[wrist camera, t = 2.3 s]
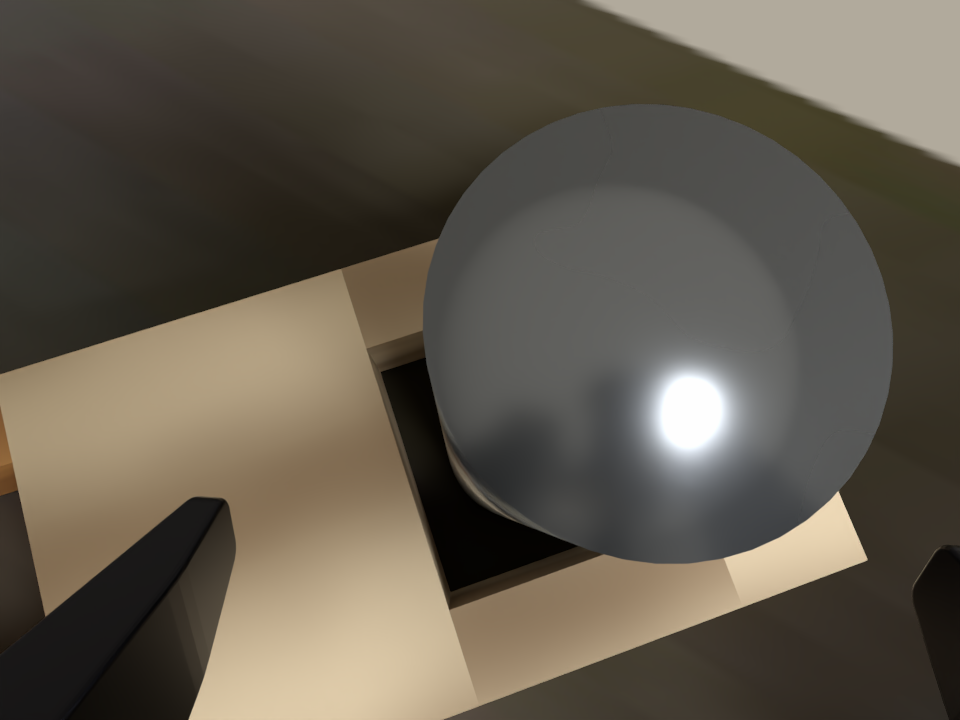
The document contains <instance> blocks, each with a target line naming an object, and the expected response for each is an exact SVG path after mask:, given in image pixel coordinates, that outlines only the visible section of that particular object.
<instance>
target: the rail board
mask: <svg viewBox="0 0 960 720" xmlns="http://www.w3.org/2000/svg"><path fill="white" fill-rule="evenodd" d="M437 242H438V239H436V240H433V241H429V242H426V243H423V244H420V245H416V246H413V247H410V248H407V249H403V250H400V251H397V252H394V253H391V254H387V255H384V256H381V257H378V258H374V259H371V260H368V261H365V262H362V263H358V264H355V265H352V266H349V267H345V268H342V269H339V270H336V271H332V272H329V273H326V274H323V275H320V276H316V277H313V278H310V279H307V280H303V281H300V282H297V283H294V284H291V285H287V286H284V287H281V288H278V289H274V290H271V291H268V292H265V293H261V294H258V295H255V296H252V297H249V298H245V299H242V300H239V301H236V302H232V303H229V304H226V305H223V306H220V307H216V308H213V309H210V310H207V311H203V312H200V313H197V314H194V315H190V316H187V317H184V318H181V319H178V320H174V321H171V322H168V323H165V324H161V325H158V326H155V327H152V328H149V329H145V330H142V331H139V332H136V333H132V334H129V335H126V336H123V337H119V338H116V339H113V340H110V341H107V342H103V343H100V344H97V345H94V346H90V347H87V348H84V349H81V350H78V351H74V352H71V353H68V354H65V355H61V356H58V357H55V358H52V359H48V360H45V361H42V362H39V363H36V364H32V365H29V366H26V367H23V368H19V369H16V370H13V371H10V372H7V373H3V374H0V496H1V495H4V494H7V493H11V492H14V491H17V490H18V491H19V496H20V500H21V505H22V510H23V514H24V519H25V523H26V528H27V533H28V537H29V542H30V547H31V551H32V556H33V561H34V565H35V570H36V575H37V579H38V584H39V589H40V593H41V598H42V603H43V607H44V612H45V616H47V615H48V614H49V613H51V612H52V611H53V610H54V609H56V608H57V607H58V606H59V605H60V604H62V603H63V602H64V601H65V600H66V599H68V598H69V597H70V596H71V595H73V594H74V593H75V592H76V591H77V590H79V589H80V588H81V587H82V586H83V585H85V584H86V583H87V582H88V581H90V580H91V579H92V578H93V577H94V576H96V575H97V574H98V573H99V572H100V571H102V570H103V569H104V568H105V567H107V566H108V565H109V564H110V563H111V562H113V561H114V560H115V559H116V558H117V557H119V556H120V555H121V554H122V553H124V552H125V551H126V550H127V549H128V548H130V547H131V546H132V545H133V544H134V543H136V542H137V541H138V540H139V539H141V538H142V537H143V536H144V535H145V534H147V533H148V532H149V531H150V530H152V529H153V528H154V527H155V526H156V525H158V524H159V523H160V522H161V521H162V520H164V519H165V518H166V517H167V516H169V515H170V514H171V513H172V512H173V511H175V510H176V509H177V508H178V507H179V506H181V505H182V504H183V503H184V502H186V501H187V500H188V499H190V498H192V497H195V496H204V497H220V498H223V499H225V500H226V501H227V502H228V504H229V507H230V513H231V518H232V523H233V529H234V534H235V539H236V556H235V561H234V565H233V569H232V573H231V577H230V581H229V585H228V588H227V592H226V596H225V600H224V604H223V608H222V612H221V616H220V619H219V623H218V627H217V631H216V635H215V639H214V643H213V647H212V650H211V654H210V658H209V662H208V665H207V669H206V672H205V676H204V679H203V682H202V685H201V688H200V690H199V693H198V696H197V699H196V701H195V704H194V707H193V709H192V712H191V715H190V717H189V720H443V719H446V718H449V717H451V716H454V715H457V714H459V713H462V712H465V711H467V710H470V709H472V708H475V707H478V706H480V705H483V704H486V703H488V702H491V701H494V700H496V699H499V698H502V697H504V696H507V695H510V694H512V693H515V692H518V691H520V690H523V689H526V688H528V687H531V686H534V685H536V684H539V683H542V682H544V681H547V680H550V679H552V678H555V677H558V676H560V675H563V674H566V673H568V672H571V671H574V670H576V669H579V668H582V667H584V666H587V665H590V664H592V663H595V662H598V661H600V660H603V659H606V658H608V657H611V656H614V655H616V654H619V653H622V652H624V651H627V650H630V649H632V648H635V647H638V646H640V645H643V644H646V643H648V642H651V641H654V640H656V639H659V638H662V637H664V636H667V635H670V634H672V633H675V632H678V631H680V630H683V629H686V628H688V627H691V626H694V625H696V624H699V623H702V622H704V621H707V620H710V619H712V618H715V617H718V616H720V615H723V614H725V613H728V612H731V611H733V610H736V609H739V608H741V607H744V606H747V605H749V604H752V603H755V602H757V601H760V600H763V599H765V598H768V597H771V596H773V595H776V594H779V593H781V592H784V591H787V590H789V589H792V588H795V587H797V586H800V585H803V584H805V583H808V582H811V581H813V580H816V579H819V578H821V577H824V576H827V575H829V574H832V573H835V572H837V571H840V570H843V569H845V568H848V567H851V566H853V565H856V564H859V563H861V562H864V561H867V557H866V555H865V553H864V550H863V548H862V546H861V543H860V541H859V539H858V536H857V534H856V532H855V529H854V527H853V525H852V522H851V520H850V518H849V515H848V513H847V511H846V508H845V506H844V504H843V501H842V499H841V497H840V494H839V492H837V493H836V494H835V495H834V496H833V498H832V499H831V500H830V501H829V502H828V503H826V504H825V505H824V506H823V507H822V508H821V509H819V510H818V511H817V512H816V513H815V514H814V515H812V516H811V517H810V518H809V519H808V520H807V521H805V522H803V523H802V524H800V525H799V526H797V527H796V528H794V529H792V530H791V531H789V532H788V533H786V534H785V535H783V536H781V537H780V538H777V539H775V540H773V541H771V542H768V543H766V544H764V545H762V546H760V547H757V548H755V549H753V550H750V551H747V552H743V553H740V554H736V555H733V556H730V557H726V558H723V559H718V560H711V561H704V562H697V563H690V564H654V563H646V562H639V561H631V560H624V559H620V558H616V557H612V556H609V555H605V554H601V553H598V552H594V551H591V550H588V549H585V548H583V547H580V546H578V547H575V548H572V549H569V550H567V551H564V552H561V553H558V554H555V555H553V556H550V557H547V558H544V559H541V560H539V561H536V562H533V563H530V564H528V565H525V566H522V567H519V568H516V569H514V570H511V571H508V572H505V573H502V574H500V575H497V576H494V577H491V578H488V579H486V580H483V581H480V582H477V583H475V584H472V585H469V586H466V587H463V588H461V589H458V590H455V591H452V592H450V589H449V585H448V582H447V579H446V576H445V573H444V570H443V567H442V563H441V560H440V557H439V554H438V551H437V548H436V545H435V542H434V538H433V535H432V532H431V529H430V526H429V523H428V520H427V516H426V513H425V510H424V507H423V504H422V501H421V498H420V494H419V491H418V488H417V485H416V482H415V479H414V476H413V472H412V469H411V466H410V463H409V460H408V457H407V454H406V450H405V447H404V444H403V441H402V438H401V435H400V432H399V429H398V425H397V422H396V419H395V416H394V413H393V410H392V407H391V403H390V400H389V397H388V394H387V391H386V388H385V385H384V381H383V378H382V375H381V372H382V371H385V370H388V369H392V368H395V367H398V366H401V365H404V364H407V363H410V362H413V361H416V360H419V359H422V358H425V357H426V355H425V347H424V339H423V301H424V294H425V288H426V281H427V274H428V270H429V267H430V264H431V260H432V257H433V253H434V250H435V247H436V244H437Z"/></svg>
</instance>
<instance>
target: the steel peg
mask: <svg viewBox="0 0 960 720" xmlns="http://www.w3.org/2000/svg"><path fill="white" fill-rule="evenodd" d="M423 339H424V347H425V355H426V363H427V368H428V372H429V376H430V380H431V385H432V389H433V393H434V398H435V402H436V406H437V410H438V415H439V419H440V423H441V428H442V432H443V436H444V441H445V445H446V449H447V453H448V458H449V461H450V465H451V468H452V471H453V473H454V476H455V478H456V479H457V481H458V483H459V485H460V486H461V487H462V489H463V490H464V491H465V493H466V494H467V495H468V496H469V497H470V498H471V499H472V500H473V501H475V502H476V503H477V504H479V505H480V506H481V507H483V508H485V509H486V510H488V511H490V512H492V513H495V514H497V515H500V516H502V517H505V518H507V519H510V520H513V521H515V522H518V523H520V524H523V525H526V526H528V527H531V528H533V529H536V530H539V531H541V532H544V533H546V534H549V535H552V536H554V537H557V538H559V539H562V540H565V541H567V542H570V543H572V544H575V545H578V546H580V547H583V548H585V549H588V550H591V551H594V552H598V553H601V554H605V555H609V556H612V557H616V558H620V559H624V560H631V561H639V562H646V563H654V564H690V563H697V562H704V561H711V560H718V559H723V558H726V557H730V556H733V555H736V554H740V553H743V552H747V551H750V550H753V549H755V548H757V547H760V546H762V545H764V544H766V543H768V542H771V541H773V540H775V539H777V538H780V537H781V536H783V535H785V534H786V533H788V532H789V531H791V530H792V529H794V528H796V527H797V526H799V525H800V524H802V523H803V522H805V521H807V520H808V519H809V518H810V517H811V516H812V515H814V514H815V513H816V512H817V511H818V510H819V509H821V508H822V507H823V506H824V505H825V504H826V503H828V502H829V501H830V500H831V499H832V498H833V496H834V495H835V494H836V493H837V492H838V491H839V489H840V488H841V487H842V486H843V485H844V484H845V483H846V481H847V480H848V479H849V478H850V477H851V475H852V474H853V472H854V471H855V469H856V467H857V466H858V464H859V463H860V461H861V460H862V458H863V457H864V455H865V453H866V452H867V450H868V448H869V446H870V443H871V441H872V439H873V437H874V435H875V432H876V430H877V428H878V426H879V423H880V420H881V417H882V413H883V410H884V407H885V403H886V400H887V396H888V391H889V385H890V378H891V371H892V356H893V333H892V325H891V316H890V308H889V303H888V299H887V295H886V291H885V287H884V283H883V279H882V276H881V273H880V271H879V268H878V265H877V263H876V260H875V258H874V255H873V253H872V250H871V248H870V246H869V244H868V242H867V241H866V239H865V237H864V235H863V233H862V231H861V230H860V228H859V226H858V224H857V222H856V221H855V219H854V218H853V217H852V215H851V214H850V212H849V211H848V210H847V208H846V207H845V205H844V204H843V203H842V201H841V200H840V198H839V197H838V196H837V195H836V194H835V193H834V192H833V191H832V190H831V188H830V187H829V186H828V185H827V184H826V183H825V182H824V181H823V180H822V178H821V177H820V176H819V175H817V174H816V173H815V172H814V171H813V170H812V169H811V168H809V167H808V166H807V165H806V164H805V163H804V162H803V161H801V160H800V159H799V158H798V157H797V156H795V155H794V154H792V153H791V152H789V151H788V150H787V149H785V148H784V147H782V146H781V145H779V144H778V143H776V142H775V141H773V140H772V139H770V138H768V137H766V136H764V135H762V134H760V133H758V132H756V131H755V130H753V129H751V128H749V127H747V126H744V125H742V124H739V123H737V122H734V121H732V120H729V119H726V118H724V117H721V116H718V115H714V114H710V113H707V112H703V111H699V110H695V109H691V108H684V107H676V106H669V105H654V104H631V105H621V106H612V107H604V108H599V109H595V110H591V111H587V112H582V113H578V114H575V115H572V116H570V117H567V118H564V119H561V120H559V121H556V122H553V123H551V124H549V125H547V126H545V127H543V128H541V129H539V130H537V131H535V132H533V133H531V134H530V135H528V136H526V137H524V138H523V139H521V140H520V141H519V142H517V143H516V144H514V145H513V146H511V147H510V148H509V149H507V150H506V151H504V152H503V153H502V154H501V155H499V156H498V157H497V158H496V159H495V160H494V161H493V162H492V163H491V164H490V165H489V166H487V167H486V168H485V169H484V170H483V171H482V172H481V173H480V174H479V176H478V177H477V178H476V179H475V180H474V182H473V183H472V184H471V185H470V186H469V188H468V189H467V190H466V191H465V192H464V194H463V195H462V197H461V198H460V200H459V201H458V203H457V205H456V206H455V208H454V209H453V211H452V213H451V214H450V216H449V217H448V219H447V222H446V224H445V226H444V228H443V230H442V233H441V235H440V237H439V239H438V242H437V244H436V247H435V250H434V253H433V257H432V260H431V264H430V267H429V270H428V274H427V281H426V288H425V294H424V301H423Z"/></svg>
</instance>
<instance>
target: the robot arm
mask: <svg viewBox="0 0 960 720" xmlns="http://www.w3.org/2000/svg"><path fill="white" fill-rule="evenodd" d="M235 556H236V539H235V534H234V529H233V523H232V518H231V513H230V507H229V504H228V502H227V501H226V500H225V499H223V498H220V497H204V496H195V497H192V498H190V499H188V500H187V501H186V502H184V503H183V504H182V505H181V506H179V507H178V508H177V509H176V510H175V511H173V512H172V513H171V514H170V515H169V516H167V517H166V518H165V519H164V520H162V521H161V522H160V523H159V524H158V525H156V526H155V527H154V528H153V529H152V530H150V531H149V532H148V533H147V534H145V535H144V536H143V537H142V538H141V539H139V540H138V541H137V542H136V543H134V544H133V545H132V546H131V547H130V548H128V549H127V550H126V551H125V552H124V553H122V554H121V555H120V556H119V557H117V558H116V559H115V560H114V561H113V562H111V563H110V564H109V565H108V566H107V567H105V568H104V569H103V570H102V571H100V572H99V573H98V574H97V575H96V576H94V577H93V578H92V579H91V580H90V581H88V582H87V583H86V584H85V585H83V586H82V587H81V588H80V589H79V590H77V591H76V592H75V593H74V594H73V595H71V596H70V597H69V598H68V599H66V600H65V601H64V602H63V603H62V604H60V605H59V606H58V607H57V608H56V609H54V610H53V611H52V612H51V613H49V614H48V615H47V616H46V617H45V618H43V619H42V620H41V621H40V622H39V623H37V624H36V625H35V626H34V627H32V628H31V629H30V630H29V631H28V632H26V633H25V634H24V635H23V636H22V637H20V638H19V639H18V640H17V641H15V642H14V643H13V644H12V645H11V646H9V647H8V648H7V649H6V650H4V651H3V652H2V653H1V654H0V720H189V717H190V715H191V712H192V709H193V707H194V704H195V701H196V699H197V696H198V693H199V690H200V688H201V685H202V682H203V679H204V676H205V672H206V669H207V665H208V662H209V658H210V654H211V650H212V647H213V643H214V639H215V635H216V631H217V627H218V623H219V619H220V616H221V612H222V608H223V604H224V600H225V596H226V592H227V588H228V585H229V581H230V577H231V573H232V569H233V565H234V561H235ZM912 602H913V607H914V610H915V613H916V616H917V619H918V623H919V626H920V629H921V632H922V635H923V639H924V642H925V645H926V648H927V652H928V655H929V658H930V661H931V664H932V668H933V671H934V674H935V677H936V680H937V684H938V687H939V690H940V693H941V696H942V700H943V703H944V706H945V709H946V711H947V714H948V717H949V720H960V546H957V545H943V546H941V547H939V548H938V549H937V550H936V551H935V552H934V554H933V555H932V557H931V558H930V560H929V561H928V563H927V565H926V566H925V568H924V569H923V571H922V572H921V574H920V576H919V577H918V579H917V580H916V582H915V584H914V586H913V590H912Z"/></svg>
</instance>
